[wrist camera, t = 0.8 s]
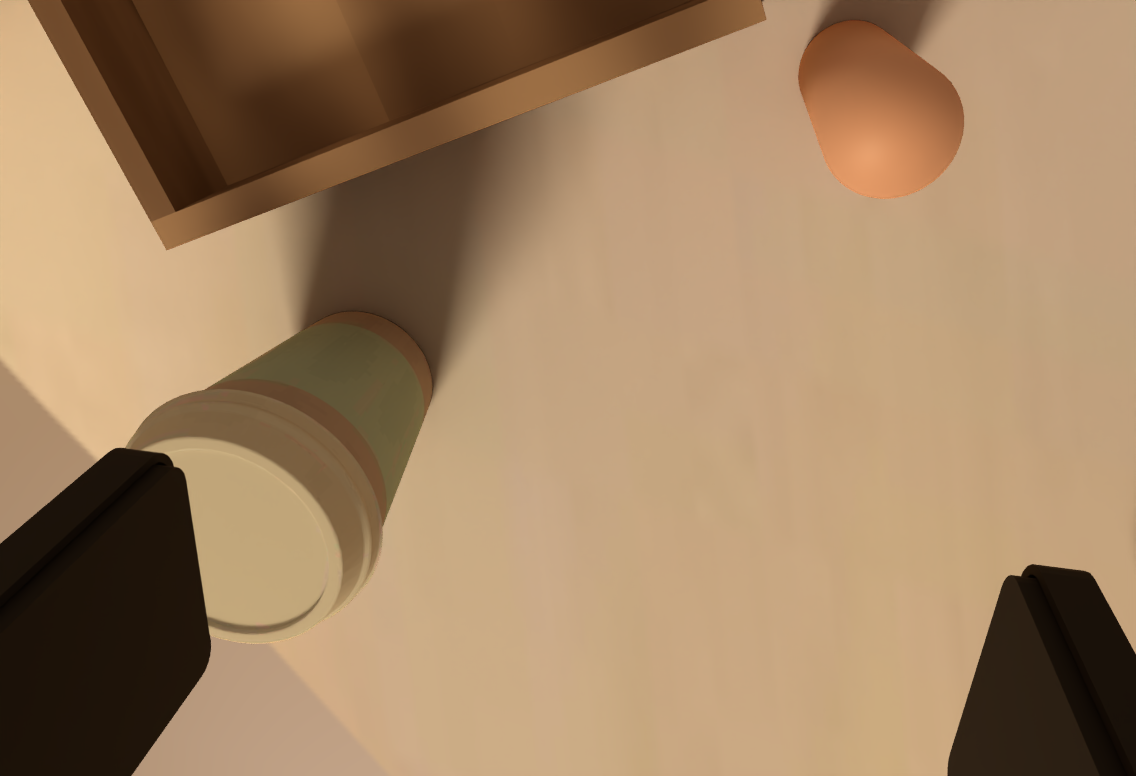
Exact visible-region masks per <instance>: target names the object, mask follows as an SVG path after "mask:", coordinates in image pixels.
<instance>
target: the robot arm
mask: <svg viewBox="0 0 1136 776" xmlns="http://www.w3.org/2000/svg"><path fill="white" fill-rule="evenodd" d="M210 652H211V640H210V633H209V627H208V620H207V613H206V607H205V600H204V594H203V587H202V581H201V574H200V567H199V561H198V554H197V548H196V541H195V534H194V528H193V521H192V515H191V508H190V501H189V495H188V488H187V482H186V477H185V474H184V472H183V471H182V469H180V468H178V467H174V464H173V462H172V460H171V459H170V457H169V456H168V455H166V454H164V453H158V452H151V451H143V450H135V449H127V448H115V449H113V450H112V451H110V452H108V453H107V454H106V455H105V456H104V457H102V458H101V459H100V460H99V461H98V462H96V463H95V464H94V465H93V466H92V467H91V468H89V469H88V470H87V471H86V472H85V473H84V474H82V475H81V476H80V477H79V478H78V479H76V480H75V481H74V482H73V483H72V484H70V485H69V486H68V487H67V488H66V489H65V490H64V491H62V492H61V493H60V494H59V495H57V496H56V497H55V498H54V499H53V500H52V501H51V502H50V503H48V504H47V505H46V506H44V507H43V508H42V509H41V510H40V511H39V512H37V513H36V514H35V515H34V516H33V517H31V518H30V519H29V520H28V521H27V522H26V523H24V524H23V525H22V526H21V527H20V528H18V529H17V530H16V531H15V532H14V533H13V534H11V535H10V536H9V537H8V538H7V539H5V540H4V541H3V542H2V543H1V544H0V776H131V775H132V774H133V773H134V771H135V770H136V768H137V767H138V766H139V764H140V763H141V761H142V760H143V759H144V757H145V756H146V754H147V753H148V751H149V750H150V749H151V747H152V746H153V744H154V743H155V741H156V740H157V739H158V737H159V736H160V734H161V733H162V732H163V730H164V729H165V727H166V726H167V724H168V723H169V721H170V720H171V719H172V718H173V716H174V715H175V713H176V712H177V711H178V709H179V707H180V706H181V705H182V703H183V702H184V701H185V699H186V698H187V696H188V695H189V694H190V692H191V691H192V689H193V688H194V687H195V685H196V684H197V682H198V681H199V679H200V678H201V677H202V675H203V673H204V672H205V669H206V667H207V664H208V662H209V657H210ZM948 776H1136V654H1135V652H1134V650H1133V648H1132V647H1131V645H1130V643H1129V641H1128V639H1127V637H1126V636H1125V634H1124V632H1123V630H1122V628H1121V626H1120V625H1119V623H1118V621H1117V619H1116V617H1115V615H1114V614H1113V612H1112V610H1111V608H1110V606H1109V604H1108V603H1107V601H1106V599H1105V597H1104V595H1103V593H1102V592H1101V590H1100V588H1099V586H1098V584H1097V582H1096V581H1095V579H1094V578H1093V576H1092V575H1091V574H1090V573H1088V572H1086V571H1081V570H1073V569H1065V568H1058V567H1050V566H1042V565H1034V564H1032V565H1029V566H1027V567H1026V569H1025V570H1024V571H1023V573H1022V576H1013V575H1010V576H1008V577H1007V578H1006V579H1005V580H1004V583H1003V585H1002V588H1001V591H1000V594H999V598H998V601H997V604H996V607H995V610H994V614H993V617H992V620H991V623H990V627H989V630H988V633H987V636H986V639H985V643H984V646H983V649H982V652H981V656H980V659H979V662H978V665H977V668H976V672H975V675H974V678H973V681H972V685H971V688H970V691H969V694H968V697H967V701H966V704H965V707H964V710H963V714H962V717H961V720H960V723H959V726H958V730H957V733H956V736H955V739H954V743H953V746H952V749H951V752H950V756H949V761H948Z"/></svg>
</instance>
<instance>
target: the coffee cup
mask: <svg viewBox="0 0 1136 776" xmlns="http://www.w3.org/2000/svg"><path fill="white" fill-rule="evenodd" d="M431 396H432V377H431V372H430V369H429V366H428V363H427V360H426V358H425V356H424V354H423V353H422V351H421V349H420V348H419V346H418V345H417V344H416V343H415V341H414V340H413V339H412V338H411V337H410V336H409V335H408V334H407V333H406V332H405V331H404V330H402V329H401V328H400V327H398V326H397V325H395V324H394V323H392V322H390V321H388V320H386V319H384V318H382V317H380V316H377V315H373V314H370V313H365V312H356V311H349V312H340V313H336V314H332V315H330V316H327V317H325V318H323V319H321V320H320V321H318V322H316V323H315V324H313V325H311V326H309V327H308V328H306V329H304V330H303V331H301V332H299V333H298V334H296V335H294V336H293V337H291V338H289V339H288V340H286V341H284V342H283V343H281V344H279V345H278V346H276V347H274V348H273V349H271V350H269V351H268V352H266V353H265V354H263V355H261V356H260V357H258V358H256V359H255V360H253V361H251V362H250V363H248V364H246V365H245V366H243V367H241V368H240V369H238V370H236V371H235V372H233V373H232V374H230V375H228V376H227V377H225V378H223V379H222V380H220V381H218V382H217V383H215V384H213V385H212V386H210V387H208V388H207V389H205V390H202V391H197V392H192V393H188V394H185V395H182V396H179V397H177V398H174V399H172V400H170V401H168V402H166V403H165V404H163V405H161V406H160V407H159V408H157V409H156V410H155V411H153V412H152V413H151V414H150V415H149V416H148V417H147V418H146V419H145V420H144V421H143V423H142V424H141V425H140V427H139V428H138V430H137V431H136V433H135V434H134V435H133V437H132V438H131V439H130V441H129V442H128V444H127V446H126V448H127V449H135V450H143V451H151V452H158V453H164V454H166V455H168V456H169V457H170V459H171V460H172V462H173V464H174V467H178V468H180V469H182V471H183V472H184V474H185V477H186V482H187V488H188V495H189V501H190V508H191V515H192V521H193V528H194V534H195V541H196V548H197V554H198V561H199V567H200V574H201V581H202V587H203V594H204V600H205V607H206V613H207V620H208V627H209V633H210V636H213V637H217V638H220V639H225V640H228V641H233V642H240V643H251V644H264V643H274V642H279V641H284V640H288V639H291V638H294V637H297V636H299V635H301V634H303V633H305V632H307V631H308V630H310V629H312V628H313V627H315V626H316V625H317V624H318V623H320V622H321V621H324V620H326V619H328V618H330V617H331V616H333V615H335V614H336V613H338V612H339V611H340V610H342V609H343V608H344V607H345V606H346V605H347V604H348V603H349V602H350V601H351V600H352V599H353V598H354V597H355V596H356V595H357V594H358V593H359V592H360V591H361V590H362V589H363V588H364V587H365V585H366V584H367V583H368V581H369V580H370V578H371V576H372V575H373V573H374V571H375V569H376V566H377V563H378V561H379V557H380V553H381V547H382V535H383V532H382V527H383V525H384V522H385V519H386V517H387V514H388V512H389V509H390V506H391V504H392V501H393V499H394V496H395V493H396V491H397V488H398V486H399V483H400V480H401V478H402V475H403V473H404V470H405V468H406V465H407V462H408V460H409V457H410V455H411V452H412V449H413V447H414V444H415V442H416V439H417V436H418V434H419V431H420V429H421V426H422V423H423V421H424V418H425V415H426V413H427V410H428V407H429V404H430V401H431Z"/></svg>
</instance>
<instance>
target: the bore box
mask: <svg viewBox="0 0 1136 776" xmlns="http://www.w3.org/2000/svg"><path fill="white" fill-rule="evenodd" d="M28 1H29V3H30V5H31V7H32V9H33V10H34V12H35V14H36V16H37V18H38V19H39V21H40V23H41V25H42V27H43V28H44V30H45V32H46V34H47V36H48V37H49V39H50V41H51V43H52V45H53V46H54V48H55V50H56V52H57V54H58V55H59V57H60V59H61V61H62V63H63V64H64V66H65V68H66V70H67V72H68V73H69V75H70V77H71V79H72V81H73V82H74V84H75V86H76V88H77V90H78V91H79V93H80V95H81V97H82V99H83V100H84V102H85V104H86V106H87V108H88V109H89V111H90V113H91V115H92V117H93V118H94V120H95V122H96V124H97V126H98V127H99V129H100V131H101V133H102V135H103V136H104V138H105V140H106V142H107V144H108V145H109V147H110V149H111V151H112V153H113V154H114V156H115V158H116V160H117V162H118V164H119V165H120V167H121V169H122V171H123V173H124V174H125V176H126V178H127V180H128V182H129V183H130V185H131V187H132V189H133V191H134V192H135V194H136V196H137V198H138V200H139V201H140V203H141V205H142V207H143V209H144V210H145V212H146V214H147V216H148V218H149V219H150V221H151V223H152V225H153V227H154V228H155V230H156V232H157V234H158V236H159V237H160V239H161V241H162V243H163V245H164V246H165V248H166V250H169V249H171V248H174V247H176V246H179V245H182V244H184V243H187V242H189V241H192V240H195V239H197V238H200V237H202V236H205V235H208V234H210V233H213V232H215V231H218V230H221V229H223V228H226V227H228V226H231V225H234V224H236V223H239V222H241V221H244V220H247V219H249V218H252V217H254V216H257V215H260V214H262V213H265V212H268V211H270V210H273V209H275V208H278V207H281V206H283V205H286V204H288V203H291V202H294V201H296V200H299V199H301V198H304V197H307V196H309V195H312V194H314V193H317V192H320V191H322V190H325V189H327V188H330V187H333V186H335V185H338V184H340V183H343V182H346V181H348V180H351V179H353V178H356V177H359V176H361V175H364V174H366V173H369V172H372V171H374V170H377V169H379V168H382V167H385V166H387V165H390V164H392V163H395V162H398V161H400V160H403V159H405V158H408V157H411V156H413V155H416V154H418V153H421V152H424V151H426V150H429V149H431V148H434V147H437V146H439V145H442V144H444V143H447V142H450V141H452V140H455V139H457V138H460V137H463V136H465V135H468V134H470V133H473V132H476V131H478V130H481V129H483V128H486V127H489V126H491V125H494V124H496V123H499V122H502V121H504V120H507V119H509V118H512V117H515V116H517V115H520V114H522V113H525V112H528V111H530V110H533V109H535V108H538V107H541V106H543V105H546V104H549V103H551V102H554V101H556V100H559V99H562V98H564V97H567V96H569V95H572V94H575V93H577V92H580V91H582V90H585V89H588V88H590V87H593V86H595V85H598V84H601V83H603V82H606V81H608V80H611V79H614V78H616V77H619V76H621V75H624V74H627V73H629V72H632V71H634V70H637V69H640V68H642V67H645V66H647V65H650V64H653V63H655V62H658V61H660V60H663V59H666V58H668V57H671V56H673V55H676V54H679V53H681V52H684V51H686V50H689V49H692V48H694V47H697V46H699V45H702V44H705V43H707V42H710V41H712V40H715V39H718V38H720V37H723V36H725V35H728V34H731V33H733V32H736V31H738V30H741V29H744V28H746V27H749V26H751V25H754V24H757V23H759V22H762V21H764V20H766V16H765V12H764V8H763V5H762V1H761V0H28Z"/></svg>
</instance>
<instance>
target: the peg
mask: <svg viewBox="0 0 1136 776" xmlns="http://www.w3.org/2000/svg"><path fill="white" fill-rule="evenodd" d="M798 79H799V86H800V91H801V94H802V96H803V99H804V102H805V105H806V108H807V111H808V113H809V116H810V119H811V122H812V125H813V128H814V130H815V133H816V136H817V139H818V142H819V145H820V148H821V150H822V153H823V156H824V159H825V162H826V164H827V166H828V167H829V169H830V171H831V172H832V174H833V175H834V176H835V177H836V178H837V179H838V180H839V181H840V183H842V184H843V185H844V186H846V187H847V188H849V189H850V190H852V191H854V192H856V193H858V194H861V195H864V196H868V197H872V198H880V199H889V198H897V197H902V196H906V195H909V194H911V193H914V192H917V191H918V190H920V189H922V188H924V187H926V186H927V185H929V184H930V183H932V182H933V181H934V180H935V179H937V178H938V177H939V176H940V175H941V174H942V173H943V172H944V171H945V170H946V168H947V167H948V166H949V164H950V163H951V162H952V160H953V158H954V156H955V155H956V153H957V151H958V148H959V146H960V143H961V139H962V135H963V129H964V113H963V107H962V103H961V100H960V97H959V95H958V93H957V91H956V89H955V88H954V86H953V85H952V83H951V82H950V81H949V80H948V79H947V78H946V76H944V75H943V74H942V73H941V72H939V71H938V70H937V69H936V68H934V67H933V66H932V65H930V64H929V63H927V62H926V61H925V60H923V59H922V58H921V57H919V56H918V55H917V54H915V53H914V52H913V51H911V50H910V49H909V48H907V47H906V46H905V45H903V44H902V43H900V42H899V41H898V40H896V39H895V38H894V37H892V36H891V35H890V34H888V33H887V32H886V31H884V30H883V29H882V28H880V27H878V26H877V25H875V24H872V23H870V22H866V21H861V20H848V21H842V22H839V23H836V24H834V25H831V26H829V27H828V28H826V29H824V30H823V31H822V32H820V33H819V34H818V35H817V36H816V37H815V38H814V39H813V40H812V41H811V42H810V44H809V45H808V47H807V48H806V50H805V52H804V54H803V56H802V59H801V62H800V66H799V75H798Z"/></svg>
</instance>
